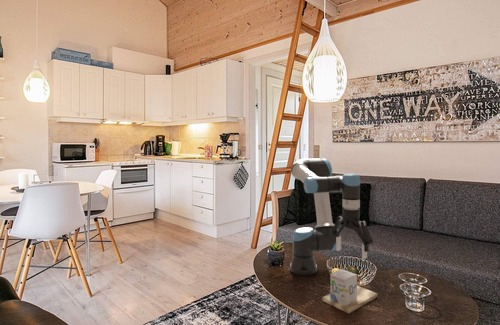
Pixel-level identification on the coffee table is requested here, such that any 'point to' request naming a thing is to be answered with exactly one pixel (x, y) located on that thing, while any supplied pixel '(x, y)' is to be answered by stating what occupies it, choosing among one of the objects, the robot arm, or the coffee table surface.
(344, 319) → the coffee table surface
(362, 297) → the board
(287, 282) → the coffee table surface
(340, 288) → the ink box
